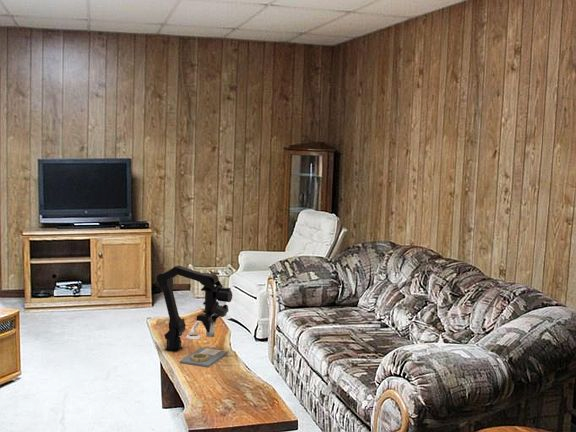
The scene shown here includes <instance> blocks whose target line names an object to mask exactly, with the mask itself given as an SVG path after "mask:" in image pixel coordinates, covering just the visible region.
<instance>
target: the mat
mask: <svg viewBox="0 0 576 432" xmlns="http://www.w3.org/2000/svg"><path fill="white" fill-rule="evenodd" d="M220 351H222V350H221V349H214V348H206V349H205V350H203V351H201V352H200V353H203V354H207V355H213V356H214V355H216V354H217V353H219V352H220Z"/></svg>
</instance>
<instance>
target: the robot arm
mask: <svg viewBox="0 0 576 432" xmlns="http://www.w3.org/2000/svg"><path fill="white" fill-rule="evenodd" d="M177 276H181V277H184V278H187V279H190V280H193V281H197V282H198V283H200V285H202V286H203V287H202V288H201V289H200V291H204V301H203V302H202V304H203V305H204V309H203V310H202V312H203V313H202V312H201V313H200V314H198V315H197V316H196V322H197V321H201V322H202V324H203V327H204V328H205V330H206V331H207V332H210V326H211V322H212V321H214V322H215V324H216V322H217V320H218V318H219V317H221V318H224V317H225V316H227V314H228V312H229V306H228V304H223V305H220V304H219V303H220V302H223V303H224V302H225V303H231V302H232V299H233V292H232V290H231V287H224V286H223V284H222V283H221V281H220V280H219V277H218V275H217V274H215V273H212V272H211V273H209V272H200V271H196V270H194V269H190V268H187V267H184V266H182V265H176V266H173V267H172V268H171V269H169V270H166V271H163V272H161V273H158V275H156V279H155V280H156V284H157V285H158V287H159V289H160V290H161V291H162V292H163V297H164V302H165V305H166V311H167V314H168V318H169V321H168V331H167V332H166V333H165V334H164V338H165V340H166V347H165V349H164V350H165V351H169V352H176V353H177V352H178V351H180V350H181V349H182V348H183V347H182V339H181V336H182V335H183V333H184V332H185V330H186V327H187V324H186V322H185V318H184V317H183V318H181V316H180V315H179V310H178V306H177V304H176V303H177V302H176V298H175V294H174V290H173V286H174V278H175V277H177Z"/></svg>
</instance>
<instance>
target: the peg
mask: <svg viewBox="0 0 576 432" xmlns="http://www.w3.org/2000/svg"><path fill="white" fill-rule="evenodd" d="M215 326H216V323H215V322H214V321H212V322H211V326H210V332H207V331H206V332H205V333H206V334H205V336H206V337H207V338H213V337H215V330H216V329H215V328H216V327H215Z"/></svg>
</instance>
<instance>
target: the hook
mask: <svg viewBox="0 0 576 432" xmlns="http://www.w3.org/2000/svg"><path fill="white" fill-rule="evenodd" d="M201 322H202V321H197V320H196V322H195V323H194V324H193V326H192V328H191V329H190V332H189V333H187V335H186V336H185V337H186V339H187V338H188V339H187V340H191V339H196V340H199V338H200V337H202V336H201V334H200V333H197V332H196V329H197V328H198V326H199V325H200V324H201ZM190 335H198V336H190ZM200 339H201V338H200Z"/></svg>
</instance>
